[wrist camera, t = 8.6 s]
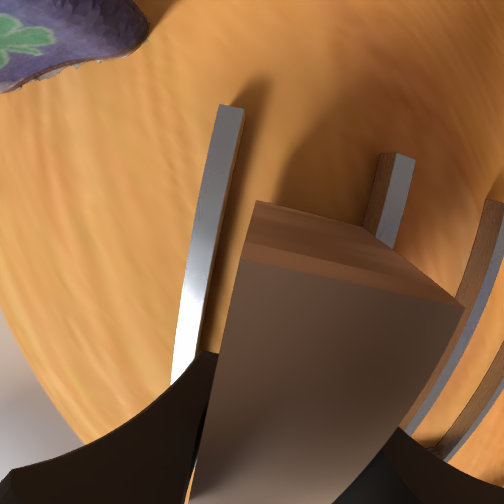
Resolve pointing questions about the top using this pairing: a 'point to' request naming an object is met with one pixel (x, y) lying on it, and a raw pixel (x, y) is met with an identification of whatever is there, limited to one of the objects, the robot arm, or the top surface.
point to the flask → (64, 36)
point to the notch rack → (382, 227)
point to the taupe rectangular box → (315, 360)
